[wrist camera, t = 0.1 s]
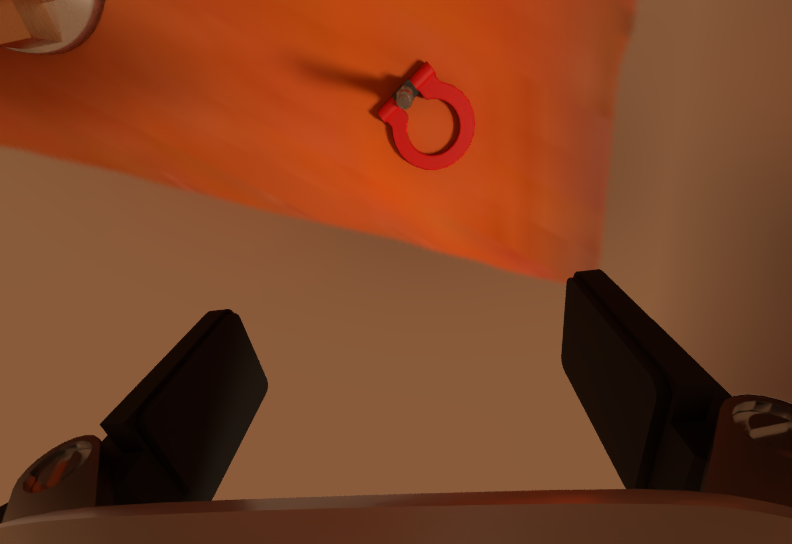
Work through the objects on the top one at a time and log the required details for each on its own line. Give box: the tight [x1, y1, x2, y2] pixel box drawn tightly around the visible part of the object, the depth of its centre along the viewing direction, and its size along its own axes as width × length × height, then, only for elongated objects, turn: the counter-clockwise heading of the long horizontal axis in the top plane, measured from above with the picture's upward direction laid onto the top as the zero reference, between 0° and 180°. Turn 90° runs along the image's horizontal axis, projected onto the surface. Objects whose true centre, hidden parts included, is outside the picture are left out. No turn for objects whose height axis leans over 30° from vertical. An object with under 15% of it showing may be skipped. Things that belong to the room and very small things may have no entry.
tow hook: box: [377, 61, 475, 170], centre depth 31 cm, size 8×13×9 cm
